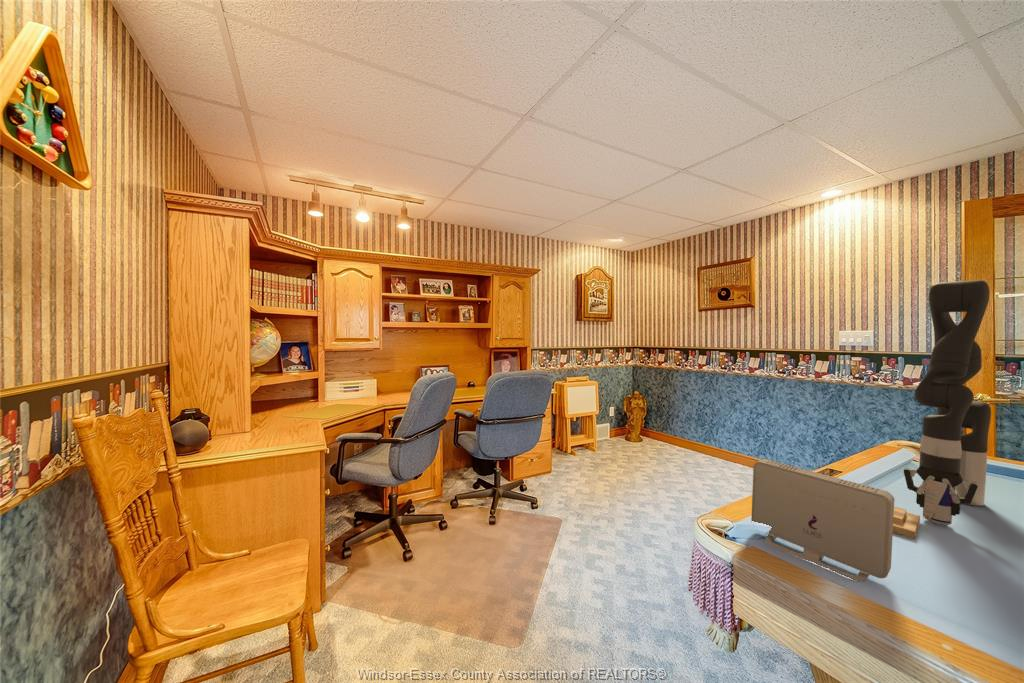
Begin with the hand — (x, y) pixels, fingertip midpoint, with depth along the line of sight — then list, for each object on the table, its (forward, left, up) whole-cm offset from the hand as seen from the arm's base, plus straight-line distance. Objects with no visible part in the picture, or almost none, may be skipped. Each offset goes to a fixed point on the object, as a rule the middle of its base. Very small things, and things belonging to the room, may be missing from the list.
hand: (937, 510), depth 102 cm
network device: (+48, -17, -4) cm, 51 cm away
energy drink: (0, 0, -3) cm, 3 cm away
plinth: (+10, -10, -4) cm, 15 cm away
